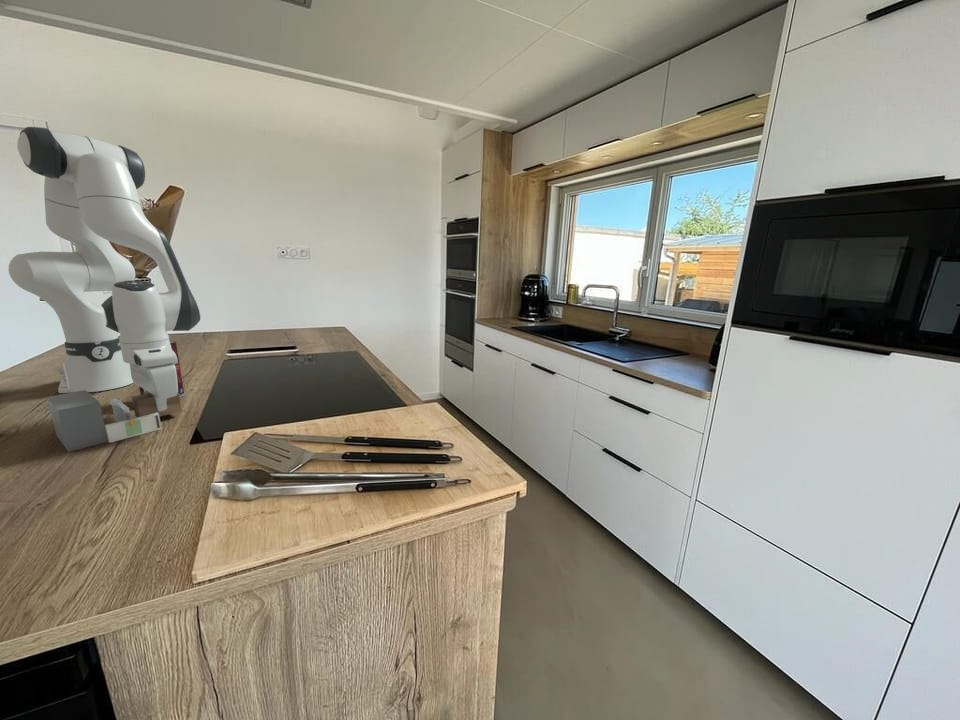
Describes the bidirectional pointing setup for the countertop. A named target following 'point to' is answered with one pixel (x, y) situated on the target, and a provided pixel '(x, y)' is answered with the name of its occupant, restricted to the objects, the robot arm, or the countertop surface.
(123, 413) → the light grey thin panel
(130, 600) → the countertop surface
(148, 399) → the tan block
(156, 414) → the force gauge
